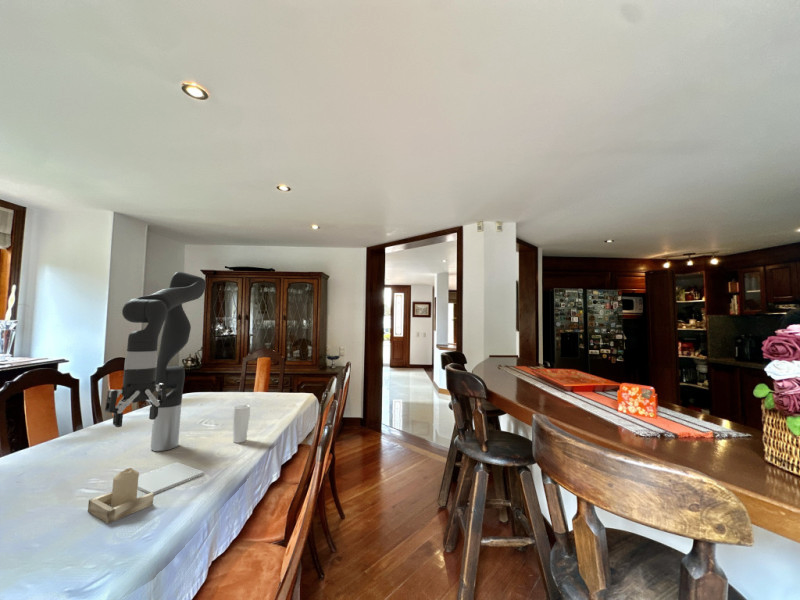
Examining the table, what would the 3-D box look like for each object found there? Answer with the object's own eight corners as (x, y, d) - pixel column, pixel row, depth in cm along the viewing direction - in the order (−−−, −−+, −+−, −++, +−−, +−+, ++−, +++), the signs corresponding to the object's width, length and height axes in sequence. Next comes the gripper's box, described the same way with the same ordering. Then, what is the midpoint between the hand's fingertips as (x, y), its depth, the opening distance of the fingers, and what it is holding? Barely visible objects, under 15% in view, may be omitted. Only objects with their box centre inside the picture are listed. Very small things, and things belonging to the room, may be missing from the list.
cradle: (108, 523, 83) (109, 511, 83) (87, 511, 88) (88, 499, 89) (152, 504, 92) (153, 493, 93) (131, 494, 97) (132, 484, 98)
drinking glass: (241, 444, 139) (243, 409, 140) (227, 443, 140) (230, 408, 142) (251, 439, 146) (253, 405, 147) (238, 437, 147) (240, 404, 148)
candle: (120, 501, 93) (124, 466, 94) (140, 501, 94) (143, 465, 95) (105, 512, 88) (108, 474, 89) (126, 512, 88) (129, 474, 89)
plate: (124, 482, 104) (124, 480, 104) (176, 464, 118) (176, 462, 119) (151, 495, 97) (151, 492, 97) (203, 474, 111) (204, 471, 111)
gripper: (159, 363, 103) (155, 415, 102) (104, 368, 91) (98, 427, 89) (173, 365, 100) (169, 418, 99) (118, 369, 87) (112, 431, 86)
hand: (135, 422), depth 94 cm, fingers open, 8 cm apart
